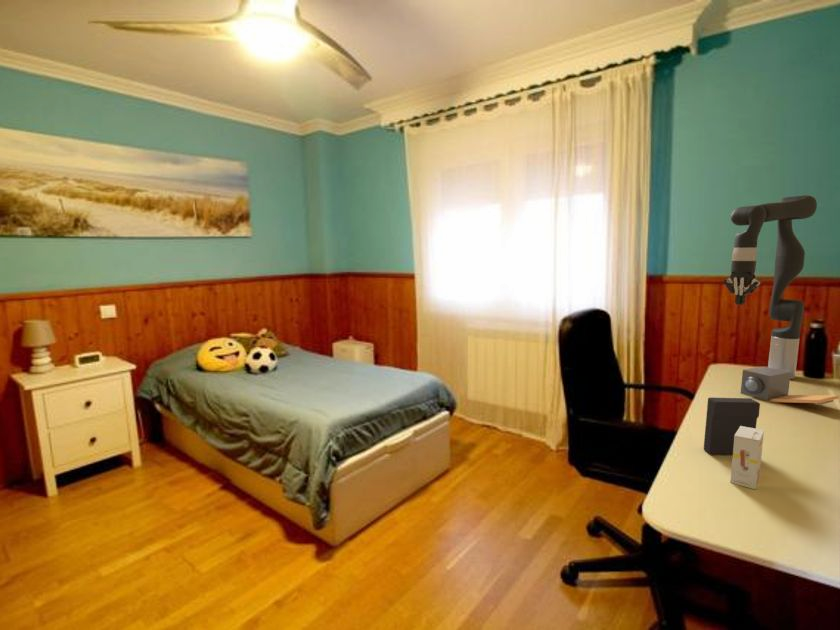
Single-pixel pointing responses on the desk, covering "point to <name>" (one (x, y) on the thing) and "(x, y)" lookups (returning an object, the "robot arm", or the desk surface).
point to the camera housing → (765, 383)
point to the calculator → (727, 422)
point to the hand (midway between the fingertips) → (739, 304)
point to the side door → (807, 399)
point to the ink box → (747, 456)
